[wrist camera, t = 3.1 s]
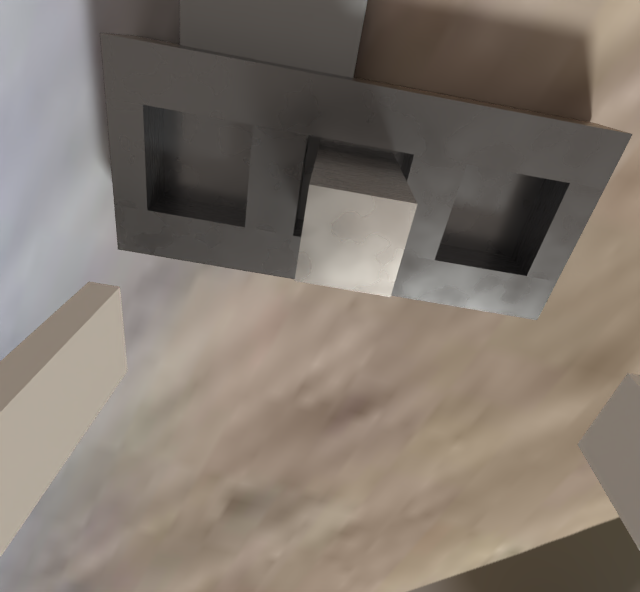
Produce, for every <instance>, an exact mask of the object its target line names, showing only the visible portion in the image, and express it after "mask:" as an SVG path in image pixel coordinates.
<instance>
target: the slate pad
mask: <svg viewBox="0 0 640 592" xmlns="http://www.w3.org/2000/svg"><path fill="white" fill-rule="evenodd" d="M366 6H367V0H180V45H182V46H188V47H193V48H198V49H203V50H209V51H214V52H219V53H224V54H230V55H235V56H240V57H245V58H251V59H256V60H261V61H266V62H272V63H277V64H282V65H287V66H293V67H298V68H303V69H308V70H314V71H319V72H324V73H329V74H335V75H340V76H345V77H350V78H353V77H354V71H355V66H356V60H357V55H358V49H359V44H360V38H361V33H362V27H363V22H364V17H365V11H366Z"/></svg>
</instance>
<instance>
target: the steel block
mask: <svg viewBox="0 0 640 592" xmlns="http://www.w3.org/2000/svg"><path fill="white" fill-rule="evenodd" d="M416 208H417V202H416V200H415V197H414V195H413V193H412V191H411V189H410V187H409V185H408V183H407V181H406V179H405V177H404V175H403V173H402V171H401V169H400V167H399V165H398V163H397V161H396V159H395V156H394V154H392V153H387V152H381V151H376V150H370V149H365V148H359V147H354V146H348V145H343V144H337V143H332V142H327V141H321V140H320V144H319V148H318V152H317V156H316V160H315V164H314V168H313V172H312V176H311V180H310V184H309V190H308V196H307V203H306V209H305V216H304V222H303V229H302V235H301V242H300V248H299V255H298V261H297V268H296V274H295V281H298V282H304V283H310V284H316V285H322V286H328V287H334V288H340V289H346V290H351V291H357V292H363V293H369V294H375V295H381V296H387V297H391V293H392V290H393V287H394V283H395V280H396V276H397V273H398V270H399V266H400V263H401V259H402V256H403V252H404V249H405V246H406V242H407V239H408V235H409V232H410V228H411V225H412V222H413V218H414V215H415V211H416Z"/></svg>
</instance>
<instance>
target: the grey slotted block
mask: <svg viewBox="0 0 640 592" xmlns="http://www.w3.org/2000/svg"><path fill="white" fill-rule="evenodd" d="M100 39H101V51H102V63H103V75H104V87H105V99H106V111H107V123H108V135H109V147H110V159H111V171H112V183H113V195H114V207H115V218H116V230H117V242H118V249H119V250H125V251H131V252H137V253H143V254H149V255H155V256H161V257H166V258H172V259H178V260H184V261H190V262H196V263H202V264H208V265H214V266H220V267H226V268H232V269H237V270H243V271H249V272H255V273H261V274H267V275H273V276H279V277H285V278H291V279H295V274H296V268H297V261H298V255H299V248H300V242H301V235H302V229H303V222H304V216H305V209H306V203H307V196H308V190H309V184H310V180H311V176H312V172H313V168H314V164H315V160H316V156H317V152H318V148H319V144H320V140H321V141H327V142H332V143H337V144H343V145H348V146H354V147H359V148H365V149H370V150H376V151H381V152H387V153H392V154H394V156H395V159H396V161H397V163H398V165H399V167H400V169H401V171H402V173H403V175H404V177H405V179H406V181H407V183H408V185H409V187H410V189H411V191H412V193H413V195H414V197H415V200H416V202H417V208H416V211H415V215H414V218H413V222H412V225H411V228H410V232H409V235H408V239H407V242H406V246H405V249H404V252H403V256H402V259H401V263H400V266H399V270H398V273H397V276H396V280H395V283H394V287H393V290H392V293H391V296H397V297H403V298H409V299H415V300H421V301H427V302H433V303H439V304H445V305H451V306H456V307H462V308H468V309H474V310H480V311H486V312H492V313H498V314H504V315H510V316H516V317H522V318H528V319H533V320H537V319H538V317H539V315H540V313H541V311H542V310H543V308H544V306H545V304H546V302H547V300H548V298H549V296H550V294H551V292H552V290H553V288H554V286H555V284H556V282H557V280H558V278H559V276H560V274H561V273H562V271H563V269H564V267H565V265H566V263H567V261H568V259H569V257H570V255H571V253H572V251H573V249H574V247H575V245H576V243H577V241H578V239H579V237H580V235H581V234H582V232H583V230H584V228H585V226H586V224H587V222H588V220H589V218H590V216H591V214H592V212H593V210H594V208H595V206H596V204H597V202H598V200H599V198H600V197H601V195H602V193H603V191H604V189H605V187H606V185H607V183H608V181H609V179H610V177H611V175H612V173H613V171H614V169H615V167H616V165H617V163H618V161H619V160H620V158H621V156H622V154H623V152H624V150H625V148H626V146H627V144H628V142H629V140H630V138H631V136H632V134H630V133H627V132H623V131H620V130H616V129H613V128H610V127H606V126H603V125H599V124H596V123H591V122H586V121H581V120H576V119H570V118H565V117H560V116H555V115H549V114H544V113H539V112H534V111H528V110H523V109H518V108H513V107H507V106H502V105H497V104H492V103H486V102H481V101H476V100H471V99H465V98H460V97H455V96H450V95H444V94H439V93H434V92H429V91H423V90H418V89H413V88H408V87H402V86H397V85H392V84H387V83H381V82H376V81H371V80H366V79H360V78H355V77H353V78H350V77H345V76H340V75H335V74H329V73H324V72H319V71H314V70H308V69H303V68H298V67H293V66H287V65H282V64H277V63H272V62H266V61H261V60H256V59H251V58H245V57H240V56H235V55H230V54H224V53H219V52H214V51H209V50H203V49H198V48H193V47H188V46H182V45H180V44H177V43H171V42H166V41H161V40H156V39H150V38H145V37H140V36H135V35H122V34H108V33H100Z"/></svg>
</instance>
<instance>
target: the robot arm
mask: <svg viewBox="0 0 640 592" xmlns="http://www.w3.org/2000/svg"><path fill="white" fill-rule="evenodd" d="M126 372H127V361H126V350H125V338H124V327H123V316H122V304H121V293H120V287H118V286H112V285H106V284H100V283H94V282H88V283H87V284H86V285H85V286H84V287H82V288H81V289H80V290H79V291H78V292H77V293H76V294H75V295H74V296H72V297H71V298H70V299H69V300H68V301H67V302H66V303H65V304H64V305H62V306H61V307H60V308H59V309H58V310H57V311H56V312H55V313H54V314H52V315H51V316H50V317H49V318H48V319H47V320H46V321H45V322H44V323H42V324H41V325H40V326H39V327H38V328H37V329H36V330H35V331H34V332H33V333H31V334H30V335H29V336H28V337H27V338H26V339H25V340H24V341H23V342H21V343H20V344H19V345H18V346H17V347H16V348H15V349H14V350H13V351H11V352H10V353H9V354H8V355H7V356H6V357H5V358H4V359H3V360H1V361H0V557H1V556H2V554H3V553H4V551H5V550H6V548H7V547H8V545H9V544H10V542H11V541H12V540H13V538H14V537H15V535H16V534H17V532H18V531H19V529H20V528H21V526H22V525H23V523H24V522H25V520H26V519H27V518H28V516H29V515H30V513H31V512H32V510H33V509H34V507H35V506H36V504H37V503H38V501H39V500H40V498H41V497H42V496H43V494H44V493H45V491H46V490H47V488H48V487H49V485H50V484H51V482H52V481H53V479H54V478H55V476H56V475H57V474H58V472H59V471H60V469H61V468H62V466H63V465H64V463H65V462H66V460H67V459H68V457H69V456H70V455H71V453H72V452H73V450H74V449H75V447H76V446H77V444H78V443H79V441H80V440H81V438H82V437H83V435H84V434H85V433H86V431H87V430H88V428H89V427H90V425H91V424H92V422H93V421H94V419H95V418H96V416H97V415H98V413H99V412H100V411H101V409H102V408H103V406H104V405H105V403H106V402H107V400H108V399H109V397H110V396H111V394H112V393H113V391H114V390H115V389H116V387H117V386H118V384H119V383H120V381H121V380H122V378H123V377H124V375H125V374H126ZM578 446H579V448H580V449H581V451H582V453H583V455H584V456H585V458H586V460H587V461H588V463H589V465H590V467H591V468H592V470H593V472H594V473H595V475H596V477H597V479H598V480H599V482H600V484H601V485H602V487H603V489H604V491H605V492H606V494H607V496H608V497H609V499H610V501H611V503H612V504H613V506H614V508H615V509H616V511H617V513H618V515H619V516H620V518H621V520H622V522H623V523H624V525H625V526H626V528H627V530H628V532H629V533H630V535H631V537H632V539H633V540H634V542H635V544H636V546H637V547H638V549H639V551H640V375H636V374H630V373H628V374H627V375H626V376H625V378H624V379H623V381H622V382H621V384H620V385H619V386H618V388H617V389H616V391H615V392H614V393H613V395H612V396H611V398H610V399H609V401H608V402H607V403H606V405H605V406H604V408H603V409H602V411H601V412H600V413H599V415H598V416H597V418H596V419H595V420H594V422H593V423H592V425H591V426H590V428H589V429H588V430H587V432H586V433H585V435H584V436H583V437H582V439H581V440H580V442H579V443H578Z"/></svg>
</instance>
